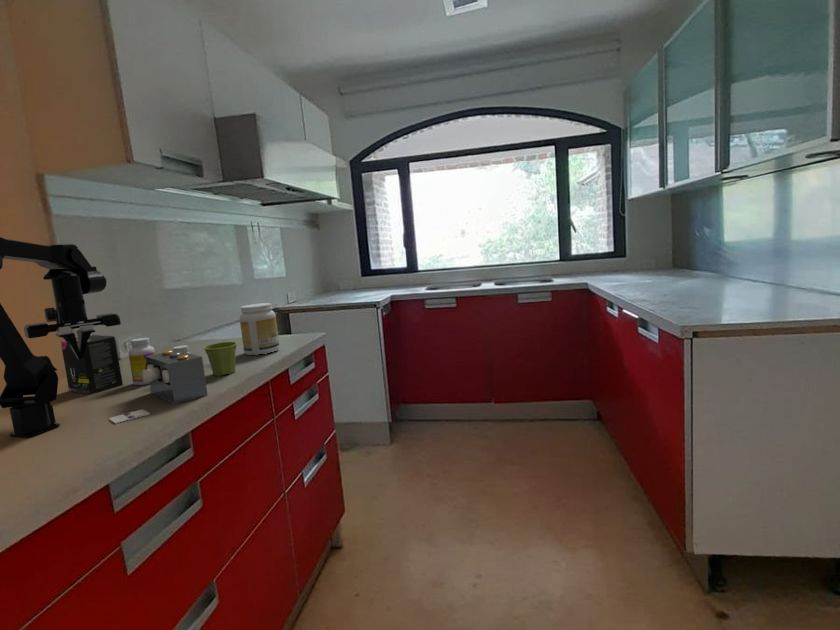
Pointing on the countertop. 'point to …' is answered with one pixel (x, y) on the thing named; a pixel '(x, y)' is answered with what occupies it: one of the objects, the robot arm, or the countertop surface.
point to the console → (178, 376)
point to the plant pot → (221, 357)
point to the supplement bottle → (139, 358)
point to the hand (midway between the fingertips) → (80, 359)
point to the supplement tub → (259, 329)
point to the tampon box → (93, 365)
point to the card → (129, 416)
